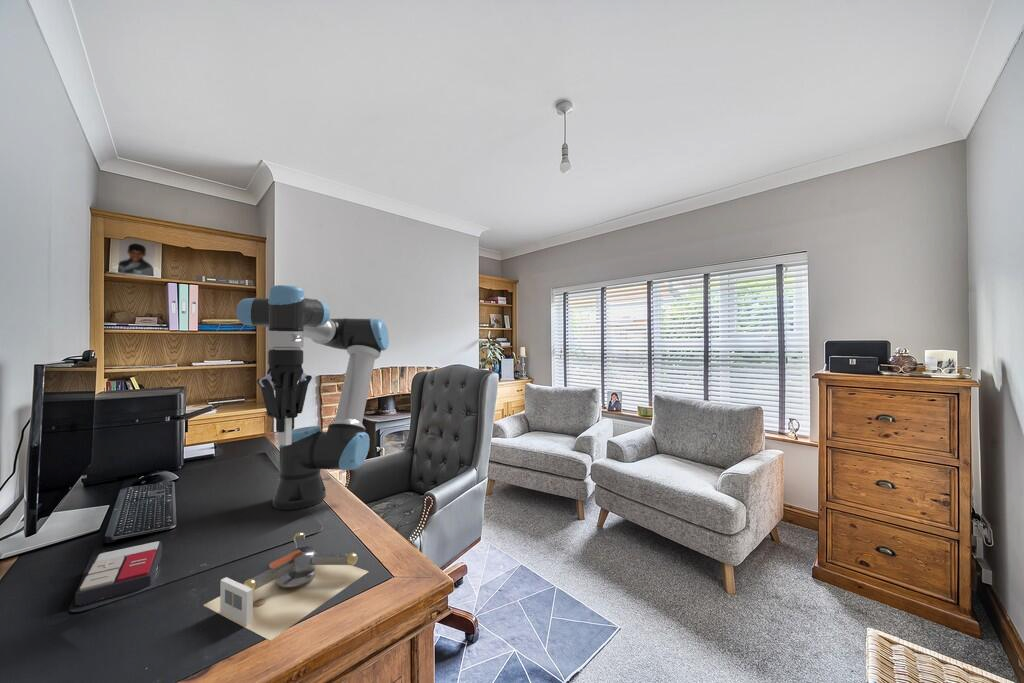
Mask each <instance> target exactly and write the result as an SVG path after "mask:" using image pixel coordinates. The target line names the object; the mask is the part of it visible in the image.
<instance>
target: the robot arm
mask: <svg viewBox="0 0 1024 683" xmlns="http://www.w3.org/2000/svg"><path fill="white" fill-rule="evenodd" d="M235 313H236V317H237V320H238V322H240V323H241V324H242V325H244V326H250V327H264V328H268V334H267V335H268V338H267V340H268V342H267V346H268V348H270V349H269V350H268V351H267V354H268V356H267V358H268V359H267V363H268V366H269V368H268V370H267V371H266V375H265V376H263V377H261V378H257V380H256V383H257V384H258V386H259V387H260V389H261V393H262V398H263V401H264V406H265V410H266V415H267V417H268V418H274V419H275V431H276V433H278V445H279V447H278V449H279V476H278V477H279V479H278V482H277V486H276V489H275V492H274V494H273V497H272V507H274V509H278V510H281V511H282V510H284V511H286V510H287V511H289V510H290V511H291V510H301V509H306V508H309V507H313V506H315V505H317V504H319V503H322V502H323V501H324V500H325V499H326V497H327V490H326V486H325V484H324V481H323V478H322V475H321V470H341V471H347V470H348V471H349V470H352V471H353V470H357V469H359V468H360V466H362V465H363V463H364V462H365V460H366V458H367V456H368V453H369V450H370V445H371V444H370V440H371V439H370V436H369V434H368V433H367V432H366V430H367V429H366V427H365V426H364V424H363V420H364V417H365V409H366V405H367V402H368V397H369V396H368V395H369V390H370V386H371V381H372V376H373V375H372V374H373V371H374V365H375V361H376V360H377V359H379V358H380V356H381V352H384V351H386V350H387V349H388V348H389V343H390V342H389V341H390V340H389V337H390V336H389V332H388V327H387V325H386V323H385V322H384V321H383V320H382V319H380V318H379V319H378V318H346V317H345V318H330V317H331V310H330V308H329V306H328V305H327V304H326V303H325V302H323V301H322V300H318V299H316V298H315V299H314V298H308V297H307V298H306V297H305V290H304V289H303V288H302V287H301V286H295V285H281V284H278V285H273V286H271V287H270V289H269V294H268V298H266V297H264V298H263V297H262V298H261V297H253V298H252V297H250V298H243V299H241V300H240V301H239V302H238V304H237V306H236V312H235ZM304 338H306V339H310V340H311V341H312V342H314V343H315V344H319V345H323V346H325V347H330V348H332V349H333V348H334V349H339V350H346V353H347V354H348V355H349V358H348V363H347V367H346V370H345V375H344V380H343V385H342V388H341V393H340V396H339V401H338V406H337V410H336V415H335V418H334V421H332V422H330V423H329V424H328V426H327V431H322V428H321V426H318V425H311V426H304V427H299V428H295V418H297V417H298V415H300V414H302V413H303V410H304V406H305V401H306V396H307V392H308V387H309V384H310V382H311V380H312V379H313V378H312V375H308V374H306V373H305V372H304V369H303V366H302V365H303V363H304V351H303V349H302V348H303V347H304ZM272 384H273V385H272ZM324 498H325V499H324ZM323 499H324V500H323ZM322 500H323V501H322ZM312 505H313V506H312ZM305 507H306V508H305ZM300 508H301V509H300Z"/></svg>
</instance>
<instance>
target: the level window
mask: <svg viewBox="0 0 1024 683" xmlns="http://www.w3.org/2000/svg"><path fill="white" fill-rule="evenodd" d="M219 589H220V593H219V594H220V612H221V613H223V614H225V615H226V616H228V617H230V618H232V619H234V620H236V621H238V622H240V623H242V624H244V625H246V626H248V625H249V624H251V623H252V622H253V589H252V588H249V587H247V586H245V585H243V583H241V582H239V581H235V580H233V579H231V578H230V577H228V576H226V577H224V578H222V579H220V588H219Z"/></svg>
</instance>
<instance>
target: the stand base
mask: <svg viewBox="0 0 1024 683" xmlns="http://www.w3.org/2000/svg"><path fill="white" fill-rule="evenodd" d="M369 572H370V571H368V570H366V569H362V568H360V567H357V566H354V565H351V566H350V565H315V577H314V578H313V579H312V580H311V581H310V582H309V583H307V584H305V585H303V586H301V587H298V588H293V589H282V588H280V587H278V585H277V579H275V580H273V581H271V582H269V583H267V584H265V585H263V586H262V587H260V588H258V589H256V590H254V591H253V622H252V623H251V624H249V625H248V626H246V625H244V624H242V623H240V622H238V621H236V620H234V619H232V618H230V617H228V616H226V615H225V614H223V613H221V612H220V596H217V597H216V598H214V599H212V600H210V601H208V602H207V603H205V604H203V607H205V608H207V609H209V610H211V611H213V612H214V613H216V614H219V615H220V616H222V617H225V618H226V619H228V620H230V621H231V622H234V623H236V624H238V625H240V626H241V627H243V628H245V629H247V630H249V631H250V632H252V633H255V634H257V635H259V636H260V637H263V638H264V639H266V640H268V641H270V642H271V641H272V640H274V639H275V638H277V637H278V636H279V635H282V633H284V632H286V630H288V629H289V628H291V627H292V626H294V625H296V624H297V623H298V622H299V621H301V620H302V619H304V618H305V617H306V616H308V615H309V614H311V613H312V612H313V611H315V610H317V609H318V608H319V607H321V606H322V605H324V604H325V603H327V602H328V601H329V600H331V599H332V598H334V597H335V596H337V595H338V594H339V593H341V592H342V591H344V590H346V588H348V587H349V586H351V585H352V584H353V583H355V582H356V581H358V580H359V579H360V578H362V577H364V575H366V574H368V573H369Z"/></svg>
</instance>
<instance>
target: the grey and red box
mask: <svg viewBox="0 0 1024 683" xmlns="http://www.w3.org/2000/svg"><path fill="white" fill-rule="evenodd" d="M162 546H163V543H162V541H154V542H148V543H144V544H140V545H134V546H129V547H125V548H121V549H115V550H112V551H106V552H101V553H99V554H98V555H96V556H95V558H94V560H93V562H92V564H91V565H90V566H89V568H88V571H87V572H86V575H85V576H84V577H83V579H82V580H81V582H80V584H79V587H78V588H77V590H76V592H75V598H74V599H75V606H76V605H79V604H84V603H88V604H90V603H89V602H92V603H94V602H93V601H96V600H99V599H101V598H106V597H109V596H115V595H118V596H122V595H125V594H128V593H133V592H137V591H141V590H144V589H146V588H149V587H151V586H152V585H153V582H154V580H155V577H156V573H157V570H158V567H159V563H160V562H161V558H162V556H163V555H162V554H163V547H162ZM115 597H116V596H115ZM99 601H100V600H99ZM96 602H97V601H96ZM84 605H85V604H84Z"/></svg>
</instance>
